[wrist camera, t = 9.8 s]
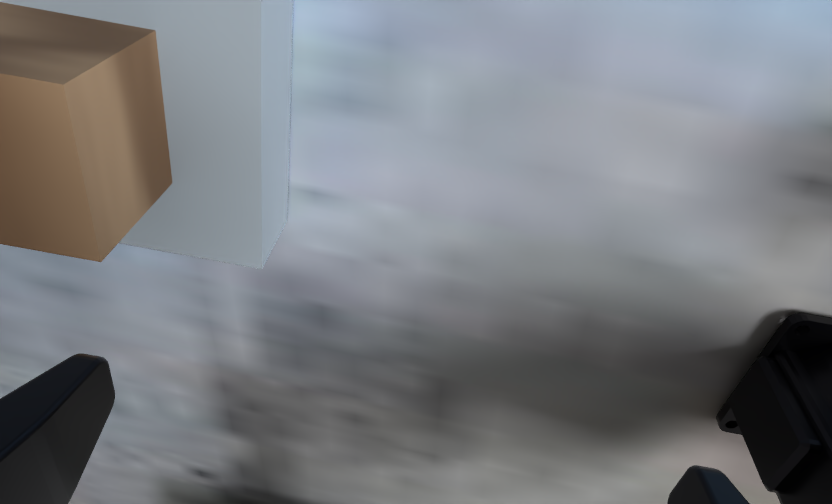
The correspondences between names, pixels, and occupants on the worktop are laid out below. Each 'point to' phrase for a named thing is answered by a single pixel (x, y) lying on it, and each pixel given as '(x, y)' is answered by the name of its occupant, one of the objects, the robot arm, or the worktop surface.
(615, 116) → the worktop surface
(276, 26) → the base slab
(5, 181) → the walnut block
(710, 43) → the worktop surface
